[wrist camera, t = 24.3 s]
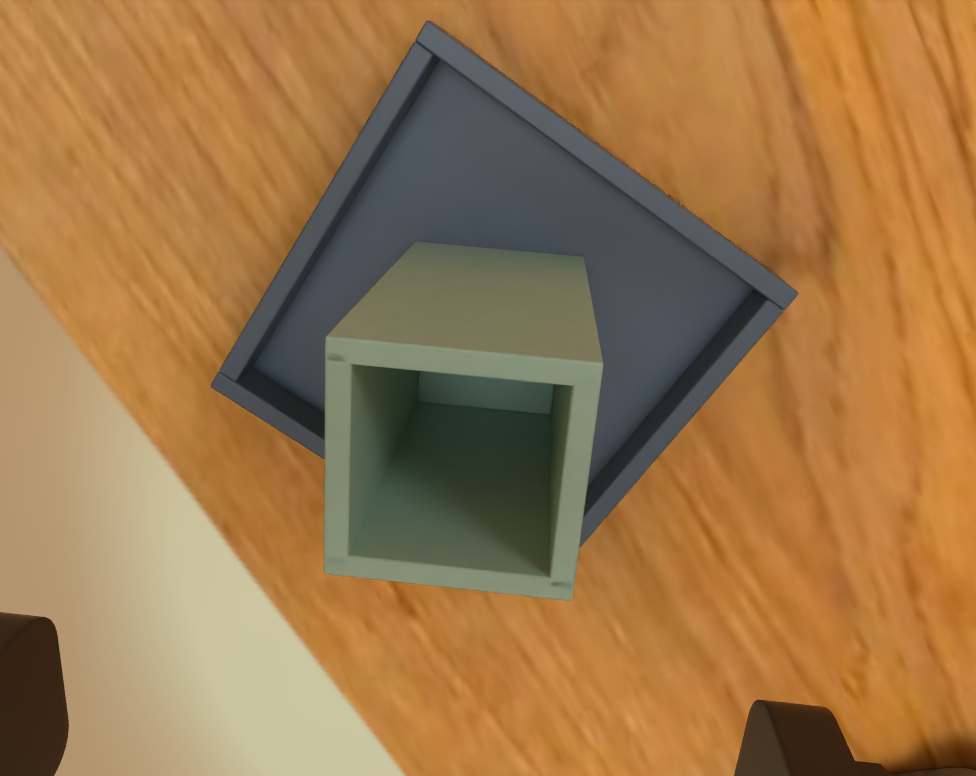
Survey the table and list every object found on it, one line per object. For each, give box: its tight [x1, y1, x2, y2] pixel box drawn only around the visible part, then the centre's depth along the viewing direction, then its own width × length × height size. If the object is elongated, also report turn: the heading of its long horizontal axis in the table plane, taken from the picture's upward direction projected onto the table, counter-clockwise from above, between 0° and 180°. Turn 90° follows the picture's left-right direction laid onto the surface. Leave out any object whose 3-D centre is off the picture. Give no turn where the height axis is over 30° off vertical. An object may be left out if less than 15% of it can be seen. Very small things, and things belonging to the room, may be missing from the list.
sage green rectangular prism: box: [324, 242, 603, 601], centre depth 20 cm, size 10×5×5 cm
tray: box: [211, 20, 798, 548], centre depth 24 cm, size 12×12×2 cm
